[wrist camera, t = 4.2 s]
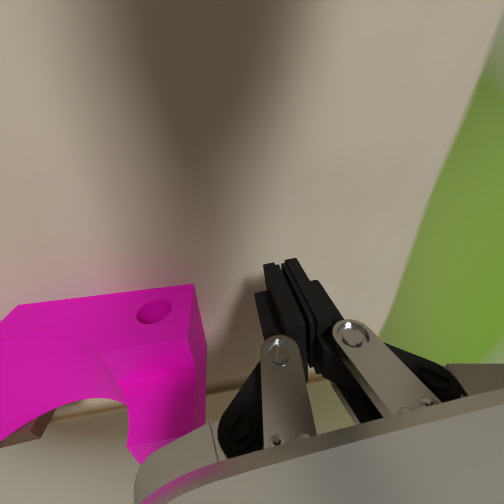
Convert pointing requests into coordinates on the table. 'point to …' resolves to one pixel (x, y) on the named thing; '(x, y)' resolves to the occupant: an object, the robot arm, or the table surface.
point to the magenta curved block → (109, 361)
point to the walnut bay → (29, 430)
